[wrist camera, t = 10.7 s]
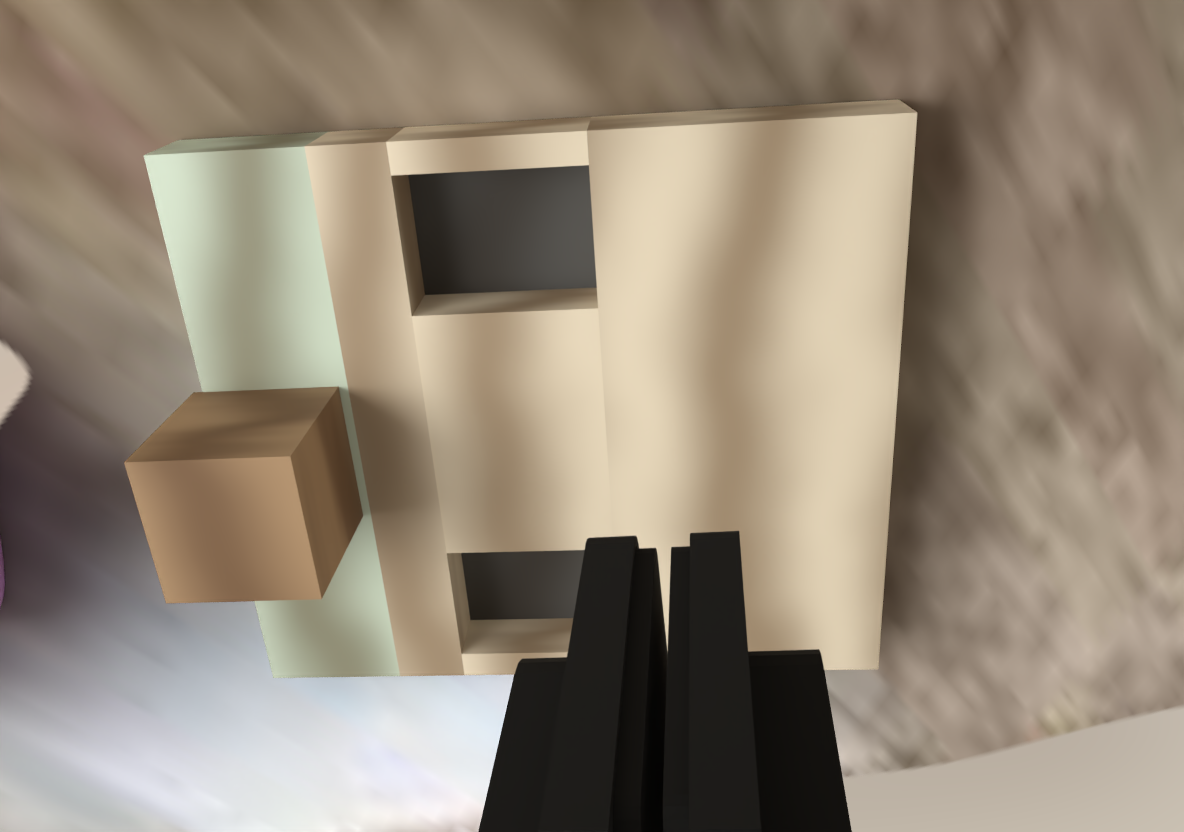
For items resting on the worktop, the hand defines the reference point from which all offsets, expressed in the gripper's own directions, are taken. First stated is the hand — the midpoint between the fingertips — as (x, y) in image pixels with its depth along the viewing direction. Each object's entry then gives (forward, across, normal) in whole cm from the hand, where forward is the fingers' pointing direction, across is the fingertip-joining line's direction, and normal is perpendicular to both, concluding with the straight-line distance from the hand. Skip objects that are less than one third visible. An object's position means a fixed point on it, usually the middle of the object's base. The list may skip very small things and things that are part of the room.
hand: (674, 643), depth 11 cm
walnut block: (+21, +15, +8) cm, 27 cm away
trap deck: (+24, +5, +8) cm, 26 cm away
